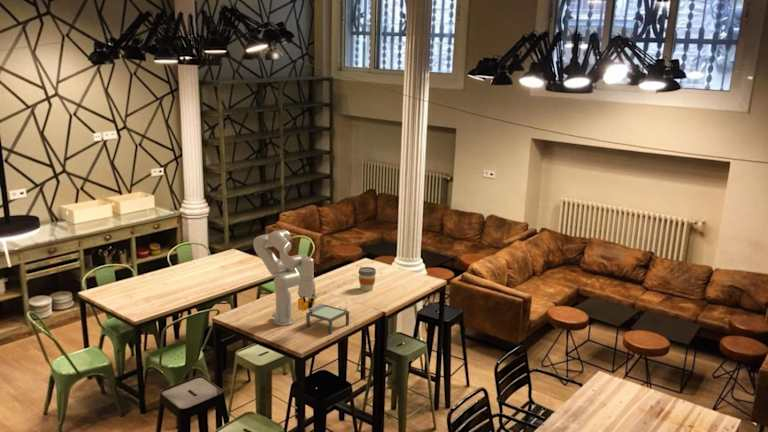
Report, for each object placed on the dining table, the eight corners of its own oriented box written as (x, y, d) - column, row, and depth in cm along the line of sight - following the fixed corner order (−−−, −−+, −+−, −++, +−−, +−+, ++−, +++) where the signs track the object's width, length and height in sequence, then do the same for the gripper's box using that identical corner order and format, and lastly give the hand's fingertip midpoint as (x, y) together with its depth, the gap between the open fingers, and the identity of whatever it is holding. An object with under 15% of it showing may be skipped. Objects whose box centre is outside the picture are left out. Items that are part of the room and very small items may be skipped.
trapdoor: (307, 313, 424) (307, 309, 424) (322, 306, 436) (322, 302, 436) (330, 320, 415) (330, 315, 414) (344, 313, 427) (344, 308, 426)
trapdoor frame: (306, 327, 424) (306, 313, 422) (325, 317, 439) (325, 304, 437) (330, 334, 414) (330, 320, 412) (349, 324, 429) (349, 311, 427)
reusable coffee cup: (378, 290, 495) (379, 270, 491) (364, 293, 488) (364, 273, 484) (369, 285, 505) (369, 265, 501) (354, 288, 498) (355, 268, 494)
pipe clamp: (303, 310, 405) (303, 300, 404) (298, 309, 407) (298, 299, 406) (316, 305, 415) (316, 295, 413) (311, 303, 417) (311, 293, 416)
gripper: (292, 276, 408) (292, 305, 412) (314, 282, 399) (314, 311, 403) (300, 273, 414) (300, 302, 418) (322, 279, 405) (321, 308, 409)
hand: (307, 306), depth 411 cm, fingers closed on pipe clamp, 4 cm apart
